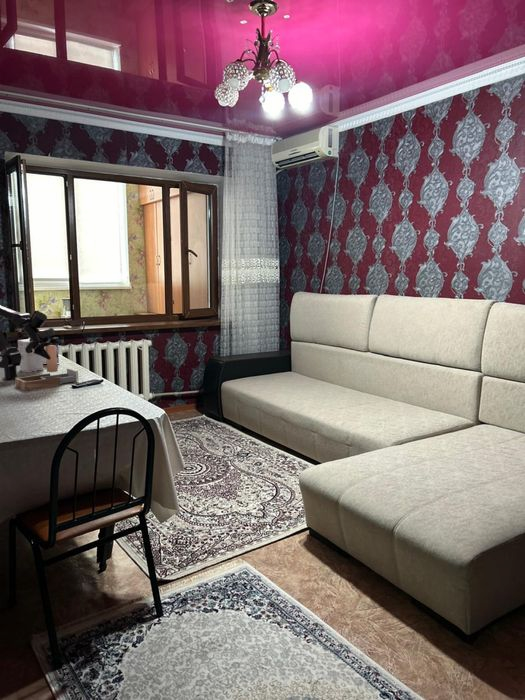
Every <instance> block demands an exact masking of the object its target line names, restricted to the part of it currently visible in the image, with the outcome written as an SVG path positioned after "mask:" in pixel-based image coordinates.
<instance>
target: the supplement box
mask: <svg viewBox="0 0 525 700" xmlns="http://www.w3.org/2000/svg"><path fill="white" fill-rule="evenodd" d="M29 340H30V339H28V338H26V339H18V340H17V348H18V350H19V352H20V353H21V357H22V358H21V363H20V366H19V370H20V371H21V370H22V372H24V373H26V372H28V373H33V372H32V371H34V372H38V371H37V370H41V371H44V365H43V358H42V356H40V355H37V354H34V353H33V352H34V349H32V350H33V352H32V353H29V354H28V353H27V352H26V351H25V348H26V347H27V345H28V344H29V343H30V341H29ZM31 342H33V341H31Z"/></svg>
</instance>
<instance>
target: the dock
mask: <svg viewBox="0 0 525 700" xmlns="http://www.w3.org/2000/svg"><path fill="white" fill-rule="evenodd" d="M50 375H51V372H47V373H41V374H35V375H28V376H21V377H20V378H15V379H14V383H15V385H14V386H15V388H18V389H21V390H22V389H23V390H22V391H24V392H27V390H28V391H33V389H35V390H40V389H39V388H41V389H46V387H47V388H51V386H53V387H59V386H61V384H62V383H61V380H60V377H55V378H48V379H42V380H40V377H44V376H50ZM58 385H59V386H58Z"/></svg>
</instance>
